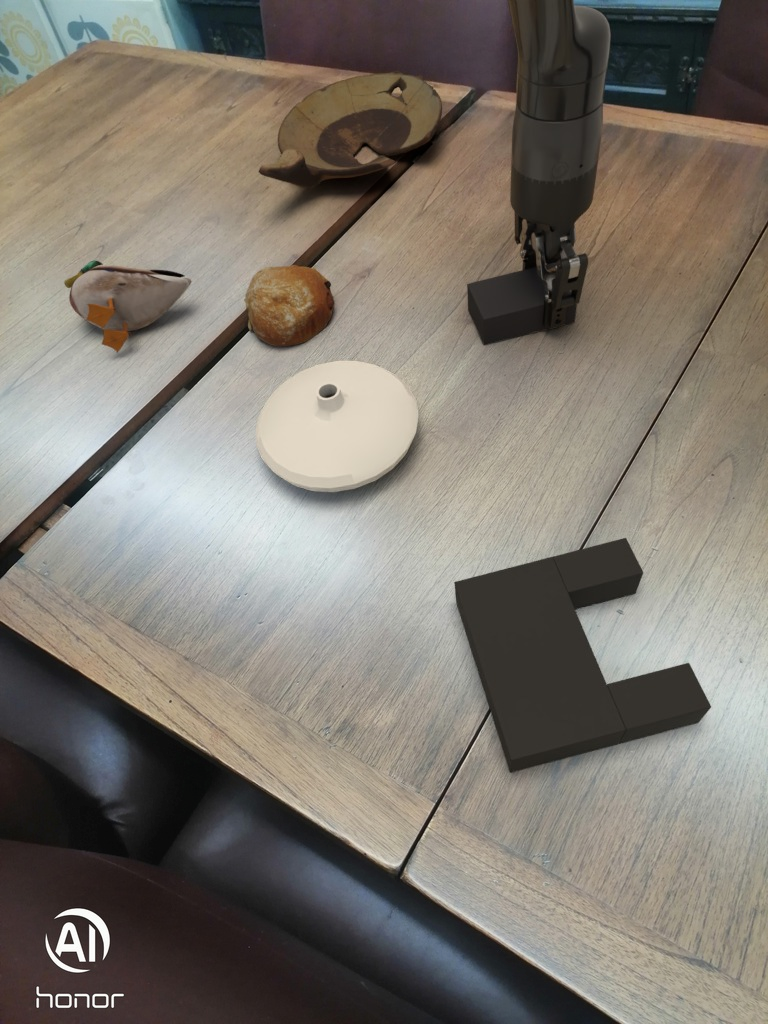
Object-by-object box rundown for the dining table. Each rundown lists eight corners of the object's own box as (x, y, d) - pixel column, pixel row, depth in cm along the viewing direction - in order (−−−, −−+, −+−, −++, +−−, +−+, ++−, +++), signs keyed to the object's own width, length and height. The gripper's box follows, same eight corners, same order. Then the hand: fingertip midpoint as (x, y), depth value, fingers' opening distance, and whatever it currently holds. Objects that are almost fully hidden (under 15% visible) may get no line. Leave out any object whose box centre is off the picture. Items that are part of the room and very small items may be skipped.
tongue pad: (554, 288, 77) (557, 261, 74) (574, 322, 73) (578, 295, 70) (467, 309, 76) (466, 283, 74) (483, 345, 73) (483, 319, 70)
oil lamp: (481, 147, 94) (480, 88, 88) (291, 241, 88) (276, 184, 81) (391, 91, 106) (385, 35, 99) (218, 170, 99) (200, 115, 93)
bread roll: (259, 329, 84) (214, 292, 78) (318, 268, 83) (278, 225, 76) (293, 376, 79) (248, 341, 73) (357, 312, 77) (317, 270, 71)
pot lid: (319, 365, 75) (305, 313, 69) (449, 410, 69) (446, 358, 63) (232, 471, 68) (208, 424, 62) (367, 531, 62) (355, 485, 56)
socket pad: (619, 559, 57) (626, 537, 54) (699, 722, 49) (712, 707, 46) (455, 601, 57) (454, 581, 54) (509, 772, 49) (511, 760, 46)
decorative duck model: (48, 247, 82) (167, 206, 83) (81, 301, 88) (193, 262, 89) (45, 314, 73) (180, 267, 73) (83, 369, 79) (208, 325, 79)
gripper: (630, 186, 57) (602, 341, 70) (566, 105, 65) (552, 258, 79) (541, 208, 56) (531, 359, 70) (488, 124, 65) (488, 274, 78)
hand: (542, 305), depth 74 cm, fingers closed on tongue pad, 6 cm apart
